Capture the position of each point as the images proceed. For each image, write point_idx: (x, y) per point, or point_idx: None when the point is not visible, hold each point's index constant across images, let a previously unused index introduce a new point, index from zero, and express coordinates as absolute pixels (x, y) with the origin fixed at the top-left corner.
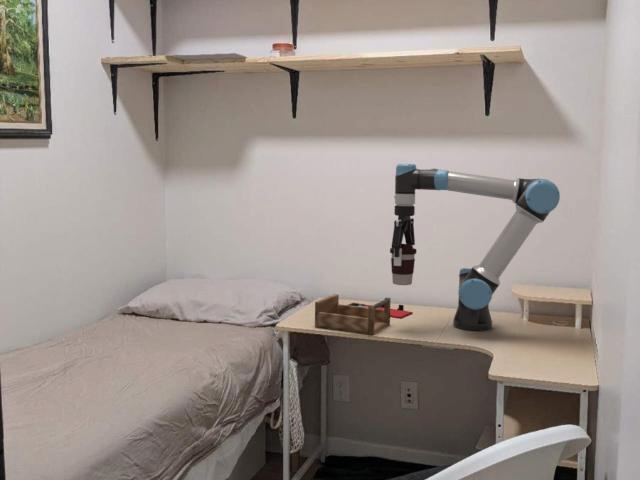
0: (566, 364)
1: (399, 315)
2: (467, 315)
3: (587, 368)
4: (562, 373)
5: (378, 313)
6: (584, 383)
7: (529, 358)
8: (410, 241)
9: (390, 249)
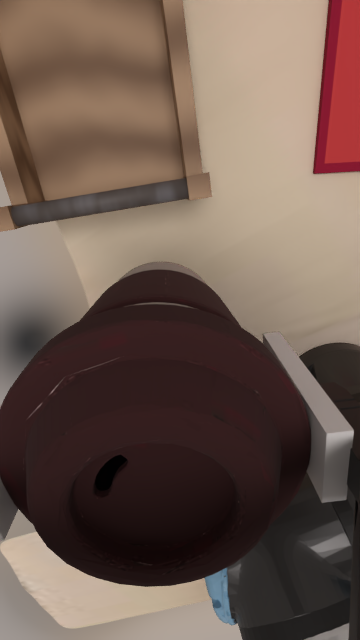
0: (141, 589)
1: (343, 150)
2: None
3: (141, 610)
4: (87, 598)
5: (181, 147)
6: (62, 623)
7: None
8: (353, 543)
9: (26, 368)
